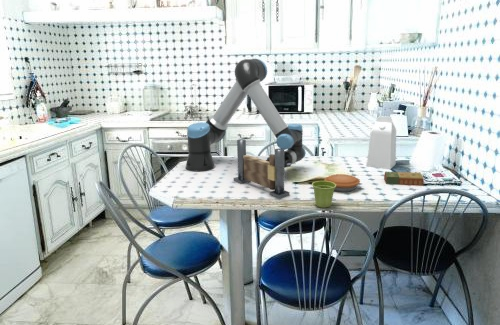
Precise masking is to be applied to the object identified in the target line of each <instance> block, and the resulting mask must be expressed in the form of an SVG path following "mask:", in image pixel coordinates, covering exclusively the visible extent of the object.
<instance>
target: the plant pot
mask: <svg viewBox="0 0 500 325" xmlns="http://www.w3.org/2000/svg"><path fill="white" fill-rule="evenodd" d="M311 186H312V189H313V192H314V194H313V195H314V203H315V206H317V207H318V208H324V209H325V208H327V207H329V208H330V207H331V206H332V204H333V203H332V202H333V196H334V190H335V187H336V184H335V183H333V182H329V181H324V180H317V181H314V182H312V183H311Z"/></svg>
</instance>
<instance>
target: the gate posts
mask: <svg viewBox="0 0 500 325" xmlns="http://www.w3.org/2000/svg"><path fill="white" fill-rule="evenodd" d="M246 143H247V141H246V139H243V138H239V139H237V140H236V144H237V146H236V147H237V149H236V151H237V153H236V155H237V177H236V176H235V177H233V182H234V183H237V184H240V185H242V184H248V183H251V181H249V180H246V179H244V158H243V156H244V155H247V144H246ZM284 151H285V150H284V149H280V148H275V149H274V154H275V166H272V165H268V179H270V180H273V181H275V190H271V191H269V196H270V197H273V198H276V199H278V200H280V199H283V198H287V197H290V191H287V190H285V168H284Z"/></svg>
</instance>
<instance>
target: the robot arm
mask: <svg viewBox="0 0 500 325" xmlns="http://www.w3.org/2000/svg"><path fill="white" fill-rule="evenodd" d="M267 75H268V67H267V65H266V63H265V62H264V61H263V60H262V59H259V58H252V59H251V58H250V59H249V58H247V59H246V58H245V59H242V60H240V61H239V62H238V63H236V65H235V68H234V77H235V79H236V81H235V82H234V84H233V86H232V87H231V88H230V90H229V92H228V93H227V95H226V96H225V97H224V99H223V101H222V102H221V104H220V105H219V107H218V108H217V110H216V111H215V113H214V114H213V115H210V116H209V117H208V119H207V120H206V121H205V122H203V121H202V122H196V123H195V122H194V123H191V124H190V125H188V126H187V130H186V134H187V149H188V156H187V159H186V163H185V168H186V170H187V171H190V172H207V171H210V170H213V169H214V168H215V166H216V165H215V160H214V158H213V156H212V153H211V149H212V148H211V145H213V144H216V143H219V142H220V141H222V140H223V139H224V138H225V136H226V133H227V130H228V123H229V122H230V120H231V119H232V117H233V116H234V115H235V113H236V111H237V110H238V109H239V107H240V106H241V104H242V103H243V102H244V100H245V98H246V97H247V95H248V97H249V98H250V99H251V101H252V103H253V104H254V106H255V107H256V109H257V110H258V112H259V113H260V115H261V117H262V118H263V120H264V121H265V123H266V124H267V126H268V128H269V129H270V131H271V132H272V133H273V135H274V137H275V138H276V146H277V147H278V149H284V169H285V168H289V167H291V165H293V164H296V163H297V162H301V161H302V160H303V159H305V156H306V149H305V148H304V147H303V132H304V131H303V126H302V124H301V123H290V124H288V125H287V124H286V121H284V119H283V117H282V116H281V114H280V112H279V111H278V109H277V108H276V107H275V105H274V104H273V102H272V100H271V99H270V97H269V95H268V94H267V92H266V91H265V89H264V88H263V86H262V84H261V83H260V82H263V81H264V80H265V79H266V77H267ZM264 160H265V161H268V162H269V157H267V158H266V159H264Z"/></svg>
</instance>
